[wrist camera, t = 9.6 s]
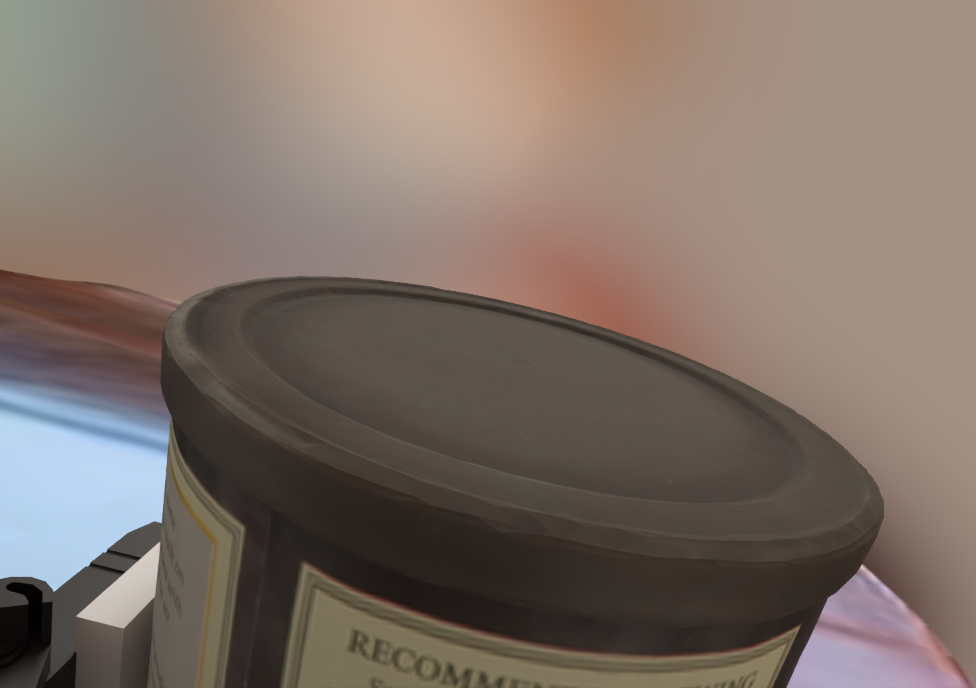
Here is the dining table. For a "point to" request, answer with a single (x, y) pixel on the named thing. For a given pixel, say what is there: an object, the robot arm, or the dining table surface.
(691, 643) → the coffee can
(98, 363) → the dining table surface
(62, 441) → the dining table surface
